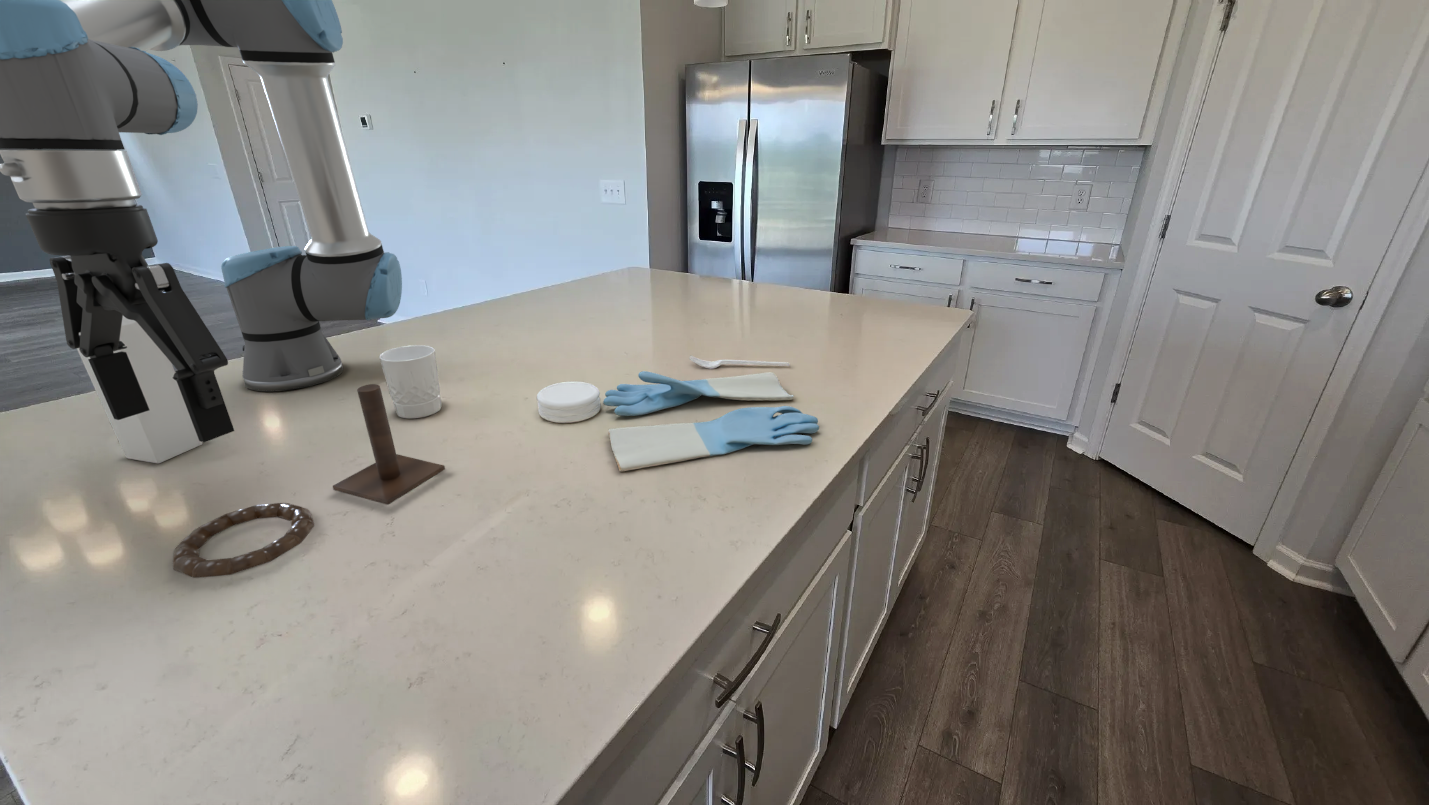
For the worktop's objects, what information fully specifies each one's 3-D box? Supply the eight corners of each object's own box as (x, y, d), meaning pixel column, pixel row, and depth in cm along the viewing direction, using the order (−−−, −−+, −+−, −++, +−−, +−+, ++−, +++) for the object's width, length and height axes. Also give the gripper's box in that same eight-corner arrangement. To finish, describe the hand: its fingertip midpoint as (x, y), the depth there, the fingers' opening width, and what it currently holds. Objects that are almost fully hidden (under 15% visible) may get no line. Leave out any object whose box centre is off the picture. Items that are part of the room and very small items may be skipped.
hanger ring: (149, 566, 60) (142, 551, 59) (267, 505, 70) (263, 491, 69) (227, 597, 56) (220, 580, 55) (340, 527, 66) (335, 513, 66)
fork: (790, 369, 115) (790, 360, 114) (689, 368, 115) (688, 359, 114) (788, 364, 118) (789, 355, 117) (690, 362, 118) (689, 354, 117)
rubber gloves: (838, 443, 86) (842, 403, 84) (618, 473, 78) (615, 430, 75) (770, 378, 110) (772, 346, 108) (596, 396, 102) (593, 361, 99)
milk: (125, 459, 80) (52, 301, 72) (172, 439, 86) (110, 290, 77) (159, 464, 79) (89, 304, 70) (204, 444, 84) (145, 293, 76)
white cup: (425, 422, 92) (412, 362, 88) (381, 418, 93) (367, 358, 89) (455, 403, 99) (445, 346, 95) (414, 399, 100) (402, 343, 96)
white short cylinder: (526, 411, 96) (524, 391, 94) (577, 394, 103) (576, 375, 101) (561, 430, 90) (559, 409, 88) (613, 410, 96) (611, 391, 95)
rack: (335, 496, 72) (305, 395, 67) (395, 462, 80) (372, 370, 75) (389, 511, 69) (363, 407, 64) (446, 475, 77) (427, 380, 72)
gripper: (-51, 202, 52) (54, 420, 60) (119, 213, 43) (213, 463, 52) (61, 197, 58) (142, 394, 66) (227, 206, 50) (295, 429, 58)
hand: (173, 425), depth 59 cm, fingers open, 13 cm apart
